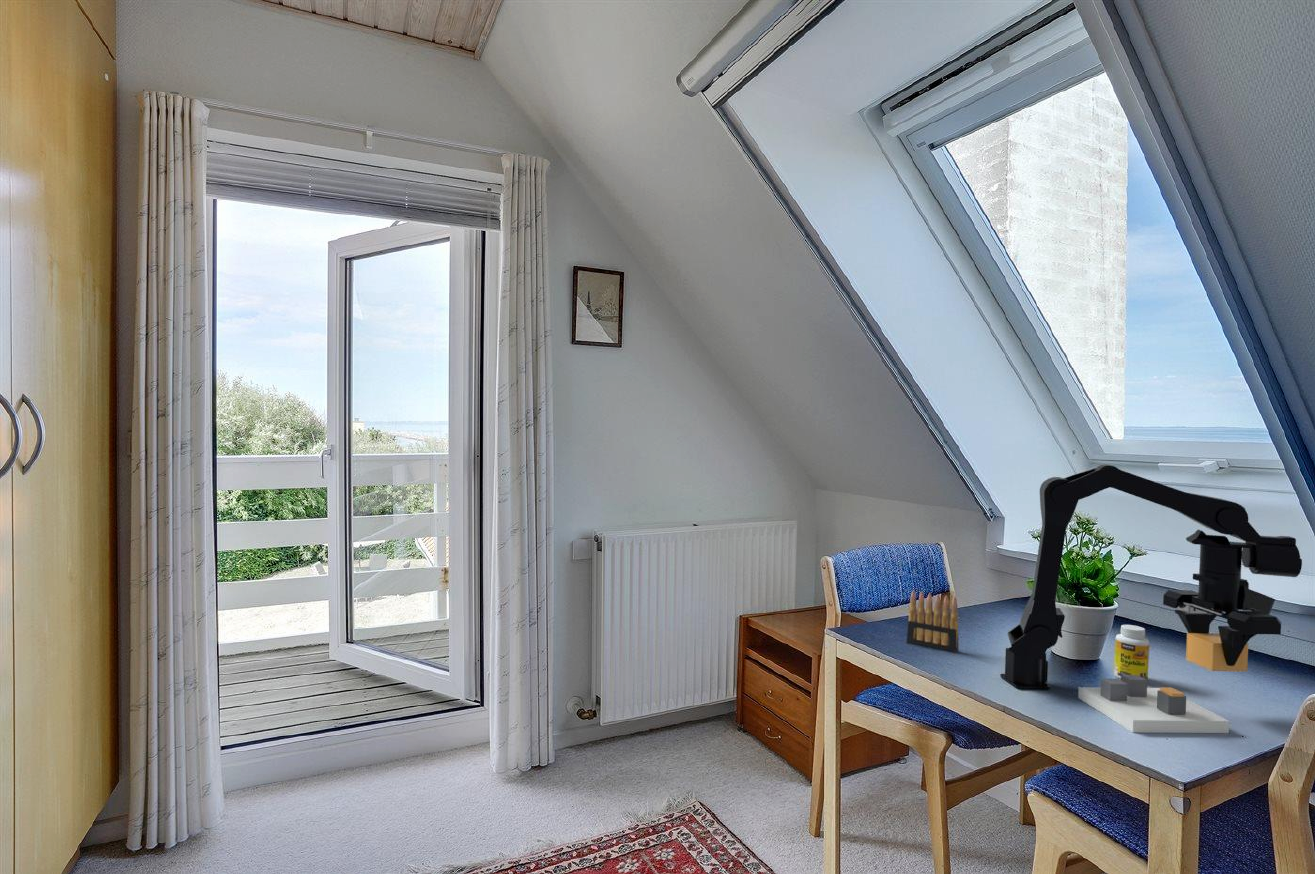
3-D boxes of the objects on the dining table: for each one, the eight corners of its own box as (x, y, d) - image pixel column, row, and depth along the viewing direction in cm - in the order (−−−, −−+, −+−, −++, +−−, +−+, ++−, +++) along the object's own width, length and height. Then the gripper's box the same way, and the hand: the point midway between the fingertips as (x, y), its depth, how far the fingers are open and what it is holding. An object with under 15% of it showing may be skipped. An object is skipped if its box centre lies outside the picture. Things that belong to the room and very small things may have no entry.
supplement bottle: (1114, 680, 138) (1117, 628, 137) (1112, 671, 142) (1115, 621, 142) (1149, 686, 135) (1151, 633, 135) (1146, 677, 140) (1148, 626, 139)
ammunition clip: (958, 651, 153) (960, 596, 153) (956, 653, 152) (958, 598, 151) (908, 641, 160) (910, 588, 159) (906, 643, 158) (907, 589, 158)
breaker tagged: (1168, 714, 117) (1169, 693, 116) (1156, 707, 119) (1157, 687, 119) (1185, 714, 117) (1186, 693, 117) (1173, 707, 119) (1174, 687, 119)
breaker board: (1132, 732, 114) (1134, 701, 114) (1078, 697, 128) (1079, 670, 128) (1228, 733, 115) (1229, 702, 115) (1163, 698, 129) (1165, 671, 129)
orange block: (1212, 670, 121) (1213, 643, 121) (1186, 659, 126) (1187, 633, 126) (1247, 671, 121) (1248, 643, 121) (1219, 659, 127) (1220, 633, 126)
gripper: (1316, 584, 114) (1311, 679, 115) (1220, 560, 133) (1216, 642, 133) (1249, 583, 114) (1245, 678, 114) (1162, 560, 132) (1159, 642, 133)
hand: (1216, 659), depth 124 cm, fingers closed on orange block, 6 cm apart
